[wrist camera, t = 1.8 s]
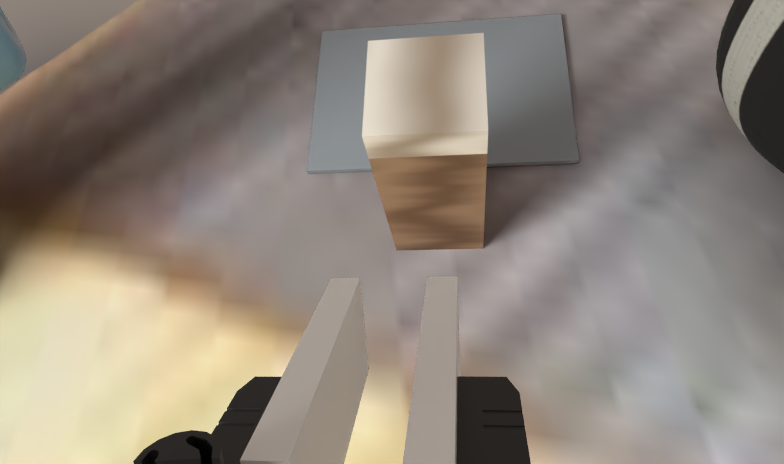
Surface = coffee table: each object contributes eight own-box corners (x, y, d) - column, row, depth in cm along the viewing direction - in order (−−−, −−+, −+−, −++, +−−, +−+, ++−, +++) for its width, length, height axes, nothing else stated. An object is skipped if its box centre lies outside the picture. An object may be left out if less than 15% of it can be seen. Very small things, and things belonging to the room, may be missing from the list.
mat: (308, 173, 44) (306, 171, 43) (323, 34, 49) (322, 31, 49) (578, 163, 41) (579, 160, 41) (560, 17, 47) (560, 13, 46)
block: (396, 250, 40) (361, 136, 27) (398, 176, 42) (367, 40, 30) (483, 248, 39) (488, 130, 27) (480, 173, 42) (483, 32, 29)
